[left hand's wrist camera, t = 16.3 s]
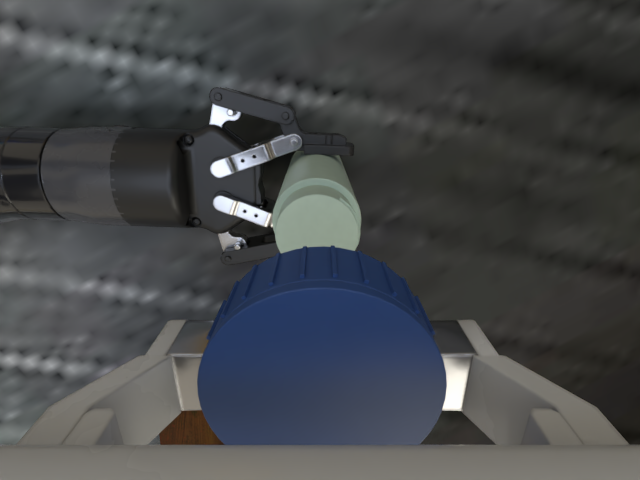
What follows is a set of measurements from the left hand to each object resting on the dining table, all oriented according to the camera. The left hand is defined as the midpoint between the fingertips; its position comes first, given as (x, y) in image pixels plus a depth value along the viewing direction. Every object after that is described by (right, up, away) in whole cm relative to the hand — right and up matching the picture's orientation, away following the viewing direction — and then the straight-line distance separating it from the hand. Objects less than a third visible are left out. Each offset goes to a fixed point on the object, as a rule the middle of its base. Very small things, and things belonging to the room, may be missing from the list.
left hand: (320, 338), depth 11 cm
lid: (0, -1, -2) cm, 2 cm away
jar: (0, +10, +24) cm, 25 cm away
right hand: (+2, +7, +18) cm, 19 cm away
